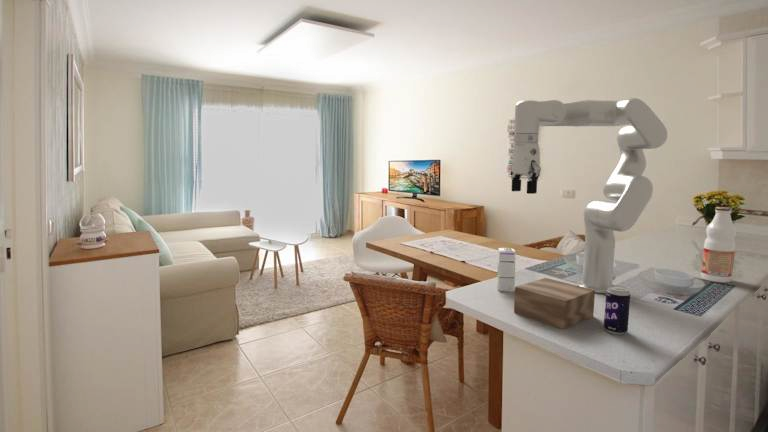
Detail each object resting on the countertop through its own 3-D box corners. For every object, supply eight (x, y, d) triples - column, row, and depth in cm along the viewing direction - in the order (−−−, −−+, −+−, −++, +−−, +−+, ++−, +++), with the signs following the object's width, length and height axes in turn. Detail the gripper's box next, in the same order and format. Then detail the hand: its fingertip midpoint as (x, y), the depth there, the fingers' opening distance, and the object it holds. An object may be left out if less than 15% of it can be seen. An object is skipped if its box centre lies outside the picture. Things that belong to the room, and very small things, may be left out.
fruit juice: (717, 283, 156) (726, 209, 153) (694, 277, 166) (701, 206, 162) (738, 282, 158) (746, 208, 155) (713, 275, 168) (721, 205, 164)
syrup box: (514, 292, 147) (516, 251, 145) (497, 291, 148) (498, 250, 146) (513, 287, 152) (515, 247, 150) (496, 286, 153) (497, 247, 151)
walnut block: (544, 301, 137) (545, 277, 136) (593, 316, 124) (595, 290, 123) (514, 312, 127) (515, 286, 126) (563, 329, 114) (565, 301, 113)
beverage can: (604, 325, 117) (608, 283, 116) (628, 330, 114) (631, 287, 112) (601, 332, 113) (605, 289, 111) (626, 337, 109) (630, 293, 108)
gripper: (551, 138, 129) (548, 194, 132) (522, 141, 146) (520, 190, 149) (529, 138, 128) (527, 194, 130) (502, 140, 145) (500, 190, 147)
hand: (523, 192), depth 139 cm, fingers open, 9 cm apart
